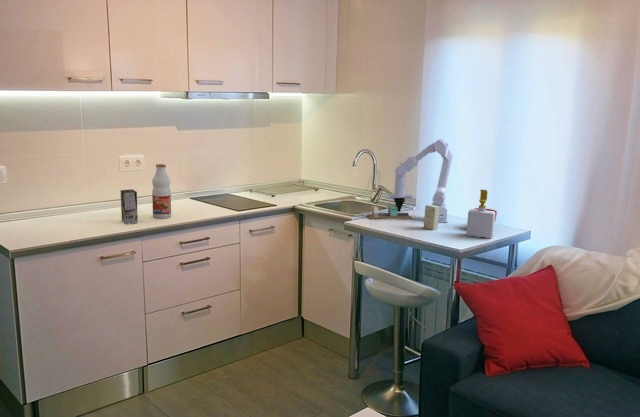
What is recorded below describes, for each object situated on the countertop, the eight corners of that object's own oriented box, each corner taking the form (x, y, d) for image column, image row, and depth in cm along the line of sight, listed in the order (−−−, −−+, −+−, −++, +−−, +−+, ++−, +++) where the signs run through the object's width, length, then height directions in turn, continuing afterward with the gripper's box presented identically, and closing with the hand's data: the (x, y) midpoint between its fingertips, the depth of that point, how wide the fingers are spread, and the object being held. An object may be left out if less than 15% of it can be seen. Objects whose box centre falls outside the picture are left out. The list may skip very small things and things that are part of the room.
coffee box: (138, 223, 295) (137, 191, 291) (125, 224, 291) (123, 192, 288) (134, 219, 302) (133, 188, 299) (121, 220, 299) (120, 189, 296)
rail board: (412, 219, 324) (412, 208, 323) (370, 219, 320) (370, 208, 318) (407, 215, 332) (407, 205, 331) (366, 216, 328) (366, 205, 327)
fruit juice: (174, 216, 312) (173, 164, 307) (163, 219, 304) (162, 166, 299) (160, 214, 316) (159, 163, 311) (149, 217, 308) (147, 164, 302)
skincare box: (423, 228, 302) (424, 205, 300) (428, 227, 305) (429, 204, 303) (433, 230, 298) (435, 207, 295) (438, 229, 301) (440, 206, 298)
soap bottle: (466, 236, 288) (469, 189, 283) (468, 233, 294) (472, 187, 289) (491, 239, 283) (495, 191, 278) (493, 236, 289) (497, 189, 284)
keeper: (397, 216, 324) (397, 207, 323) (390, 216, 323) (390, 207, 322) (394, 214, 329) (395, 206, 328) (387, 214, 328) (388, 206, 327)
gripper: (410, 186, 329) (408, 209, 331) (385, 186, 326) (384, 209, 329) (414, 188, 322) (412, 212, 325) (388, 188, 319) (387, 212, 322)
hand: (398, 211), depth 326 cm, fingers closed
